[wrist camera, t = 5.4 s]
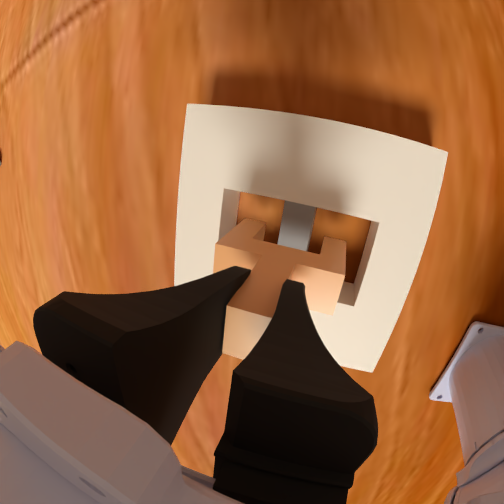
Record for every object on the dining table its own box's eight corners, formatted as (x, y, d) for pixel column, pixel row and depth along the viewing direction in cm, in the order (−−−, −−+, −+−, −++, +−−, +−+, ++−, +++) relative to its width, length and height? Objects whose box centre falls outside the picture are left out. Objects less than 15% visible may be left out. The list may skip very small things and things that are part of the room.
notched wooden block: (346, 241, 15) (341, 335, 8) (337, 274, 16) (322, 381, 9) (245, 218, 17) (166, 286, 9) (240, 250, 17) (167, 333, 10)
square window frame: (432, 150, 15) (448, 152, 12) (371, 345, 20) (372, 372, 17) (209, 108, 18) (187, 103, 15) (193, 297, 23) (174, 317, 20)
